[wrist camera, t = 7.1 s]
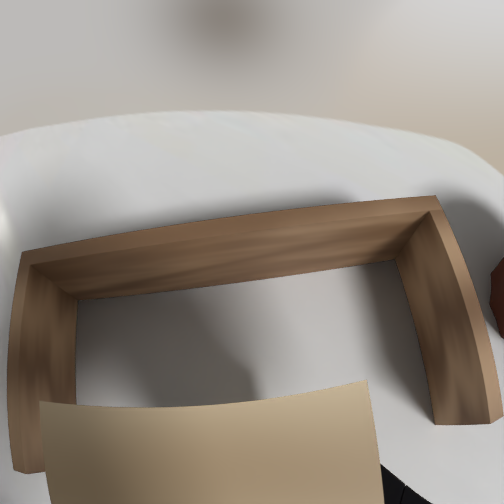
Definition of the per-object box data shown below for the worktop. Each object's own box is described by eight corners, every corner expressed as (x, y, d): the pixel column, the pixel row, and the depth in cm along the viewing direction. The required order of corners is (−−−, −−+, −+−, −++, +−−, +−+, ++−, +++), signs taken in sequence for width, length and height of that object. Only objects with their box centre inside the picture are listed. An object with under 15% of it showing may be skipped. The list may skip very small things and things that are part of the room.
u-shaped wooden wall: (447, 419, 15) (503, 416, 10) (70, 463, 14) (13, 470, 9) (402, 245, 21) (435, 195, 16) (68, 289, 21) (22, 252, 15)
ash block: (306, 489, 12) (386, 625, 1) (207, 499, 12) (96, 627, 1) (293, 401, 14) (366, 379, 4) (195, 412, 14) (39, 401, 4)
